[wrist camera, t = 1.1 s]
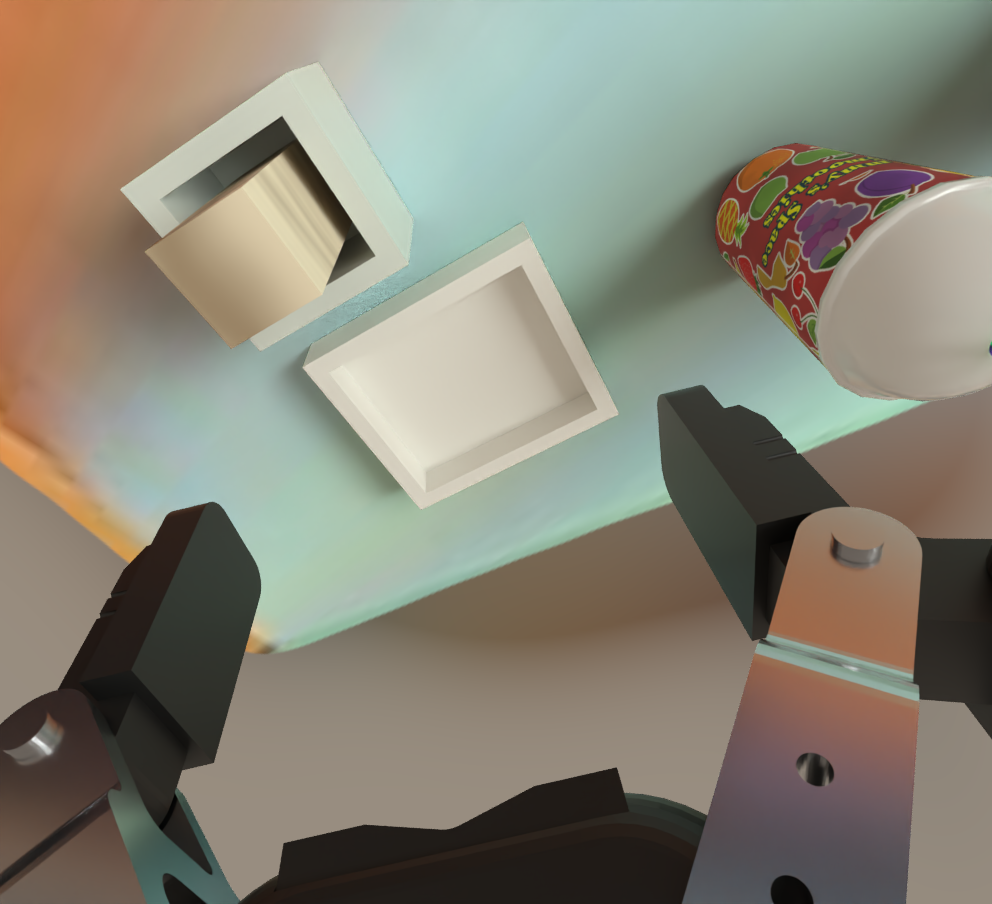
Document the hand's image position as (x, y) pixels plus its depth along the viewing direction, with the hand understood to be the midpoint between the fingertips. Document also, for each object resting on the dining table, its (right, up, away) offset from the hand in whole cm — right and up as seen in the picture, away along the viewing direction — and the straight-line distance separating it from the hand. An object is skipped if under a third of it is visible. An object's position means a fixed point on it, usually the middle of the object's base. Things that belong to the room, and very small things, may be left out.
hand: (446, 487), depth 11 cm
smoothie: (+16, +14, +23) cm, 31 cm away
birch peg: (-9, +13, +19) cm, 25 cm away
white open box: (-9, +14, +20) cm, 26 cm away
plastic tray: (-1, +6, +27) cm, 27 cm away
